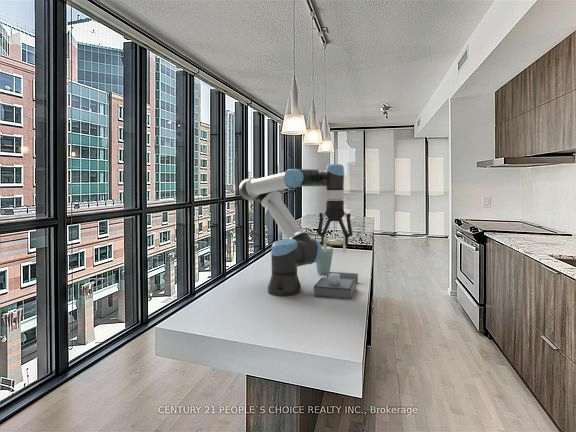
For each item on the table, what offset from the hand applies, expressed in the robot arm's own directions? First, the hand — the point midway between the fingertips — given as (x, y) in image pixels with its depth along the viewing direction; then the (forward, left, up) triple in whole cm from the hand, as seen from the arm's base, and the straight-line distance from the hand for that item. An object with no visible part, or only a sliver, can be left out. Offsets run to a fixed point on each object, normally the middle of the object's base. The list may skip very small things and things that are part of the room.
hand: (334, 251), depth 172 cm
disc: (0, 0, +4) cm, 4 cm away
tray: (+11, +11, -19) cm, 25 cm away
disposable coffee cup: (+18, +35, -19) cm, 44 cm away
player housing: (+1, +2, -19) cm, 19 cm away
